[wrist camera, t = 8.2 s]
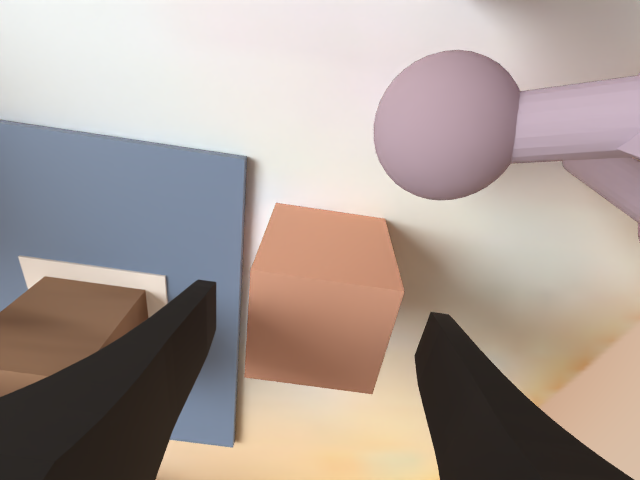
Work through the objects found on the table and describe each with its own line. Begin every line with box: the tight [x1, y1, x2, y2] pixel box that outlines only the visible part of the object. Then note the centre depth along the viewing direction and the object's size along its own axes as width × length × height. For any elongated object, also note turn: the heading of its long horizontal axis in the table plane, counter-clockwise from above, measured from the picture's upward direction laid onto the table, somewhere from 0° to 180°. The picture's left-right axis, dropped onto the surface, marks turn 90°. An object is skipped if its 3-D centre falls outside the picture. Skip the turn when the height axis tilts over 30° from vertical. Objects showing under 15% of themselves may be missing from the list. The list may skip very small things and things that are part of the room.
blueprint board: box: [0, 120, 247, 447], centre depth 18 cm, size 18×13×1 cm
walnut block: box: [0, 276, 149, 397], centre depth 15 cm, size 4×4×5 cm
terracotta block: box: [244, 203, 405, 394], centre depth 14 cm, size 4×4×5 cm
